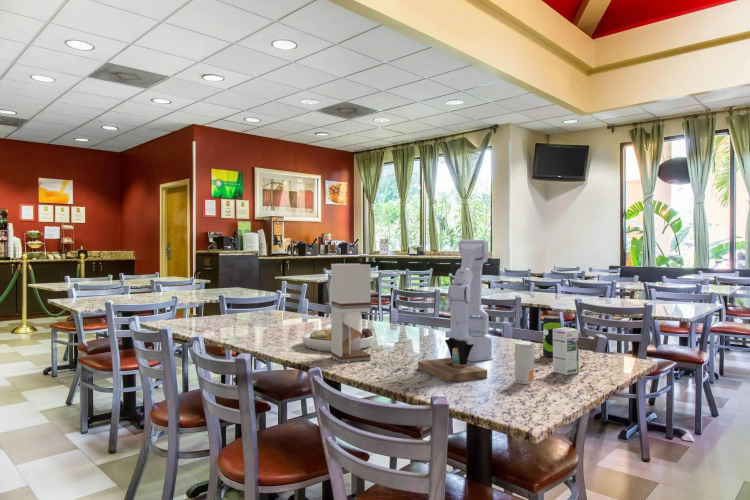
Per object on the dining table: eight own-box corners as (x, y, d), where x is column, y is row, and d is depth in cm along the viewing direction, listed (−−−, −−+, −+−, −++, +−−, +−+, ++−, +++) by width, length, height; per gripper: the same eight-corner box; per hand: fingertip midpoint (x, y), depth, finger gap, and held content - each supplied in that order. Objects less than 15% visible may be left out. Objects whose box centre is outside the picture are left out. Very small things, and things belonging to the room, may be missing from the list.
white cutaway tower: (341, 363, 182) (340, 264, 182) (331, 357, 192) (331, 263, 192) (370, 360, 187) (370, 264, 186) (359, 354, 196) (359, 263, 196)
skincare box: (528, 385, 153) (528, 345, 153) (514, 383, 156) (514, 343, 155) (534, 380, 158) (534, 341, 158) (520, 378, 161) (520, 340, 161)
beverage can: (558, 354, 196) (558, 315, 195) (562, 358, 189) (562, 318, 189) (541, 354, 196) (541, 315, 196) (545, 358, 190) (545, 317, 190)
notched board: (453, 364, 180) (453, 357, 180) (487, 378, 161) (487, 370, 161) (418, 368, 174) (418, 361, 174) (448, 382, 156) (448, 374, 156)
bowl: (292, 352, 203) (292, 332, 202) (314, 338, 232) (314, 321, 232) (367, 354, 198) (367, 334, 197) (379, 340, 227) (379, 323, 227)
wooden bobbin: (461, 364, 172) (461, 346, 172) (469, 367, 168) (469, 349, 168) (449, 365, 170) (449, 347, 170) (456, 368, 166) (456, 350, 166)
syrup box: (566, 375, 164) (566, 330, 164) (552, 371, 170) (552, 327, 170) (579, 373, 167) (579, 329, 167) (564, 369, 172) (564, 326, 172)
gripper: (437, 319, 174) (437, 359, 174) (460, 325, 161) (460, 368, 161) (455, 317, 177) (455, 357, 177) (479, 323, 163) (479, 366, 163)
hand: (459, 362), depth 169 cm, fingers closed on wooden bobbin, 5 cm apart
